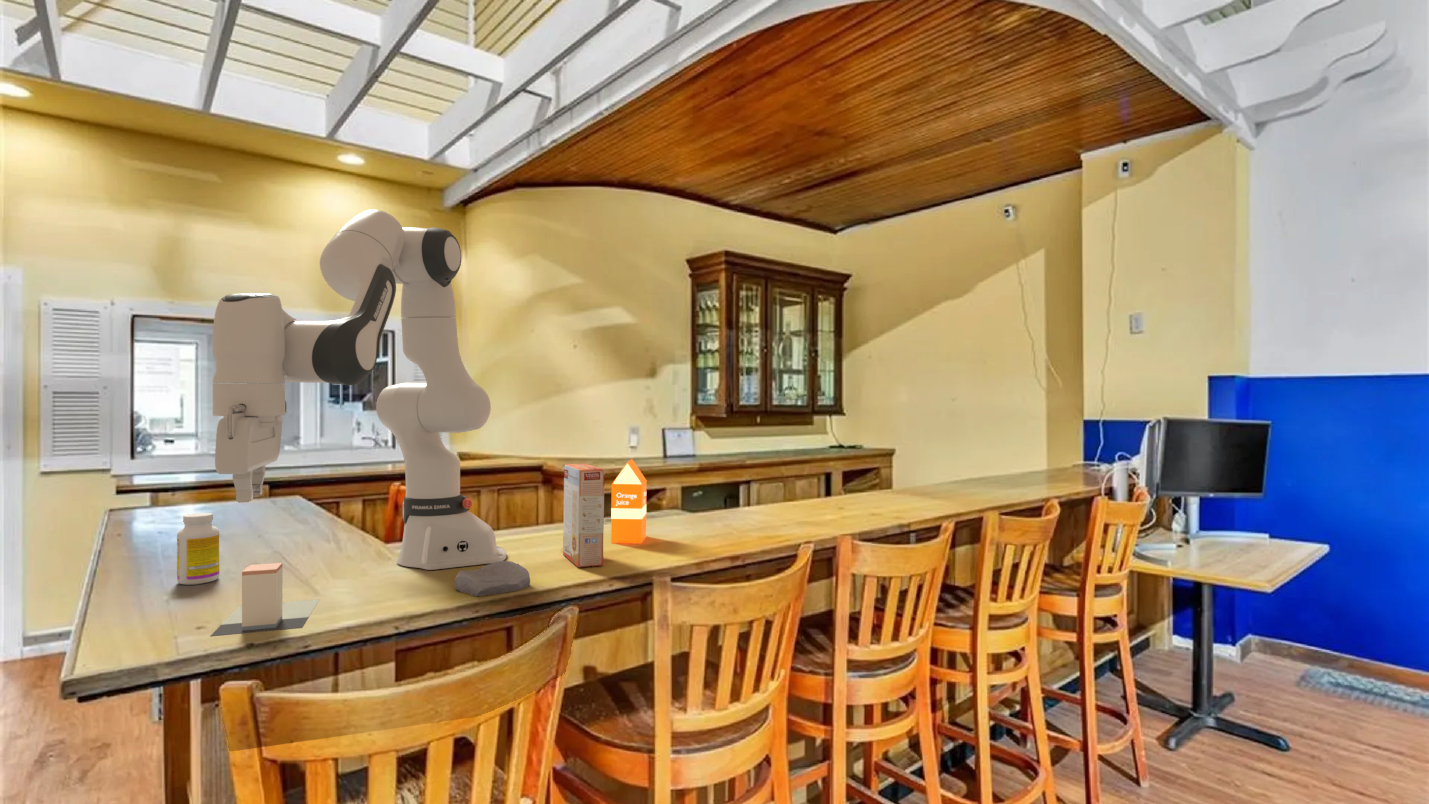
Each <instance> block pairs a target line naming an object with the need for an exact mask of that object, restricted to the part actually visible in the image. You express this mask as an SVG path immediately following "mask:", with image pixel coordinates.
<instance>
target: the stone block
mask: <svg viewBox="0 0 1429 804" xmlns="http://www.w3.org/2000/svg"><path fill="white" fill-rule="evenodd" d="M453 584H454V588H455V589H456V591H457V592H460V593H463V594H464V593H465V594H470V595H471V596H473V597H483V596H490V595H495V594H500V593H501V594H504V593H508V592H515V591H516V592H517V591H520V590H523V589H526V588H528V587H530V584H531V576H530V572H529V571H528V569H527V568H526V567H524V566H522V565H520V564H519V563H516V562H514V561H511V560H510V561H509V560H503V561H498V562H494V563H488V564H484V566H482V567H481V568H479V569H477V570H475V569H474V570H460V571H459V572H458V573H457V574H456V575H455V578H454V583H453Z"/></svg>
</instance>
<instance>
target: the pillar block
mask: <svg viewBox="0 0 1429 804" xmlns="http://www.w3.org/2000/svg"><path fill="white" fill-rule="evenodd" d="M282 602H283V562H276V563H275V562H274V563H261V564H260V563H257V564H248V566H247V567H246V568H244V569H243V570H242V571H241V606H242V631H245V630H256V629H266V628H276V627H277V626H278V624H279V623H280V621H281V620H282Z"/></svg>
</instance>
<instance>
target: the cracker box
mask: <svg viewBox="0 0 1429 804" xmlns="http://www.w3.org/2000/svg"><path fill="white" fill-rule="evenodd" d="M605 470H606V469H604V468H601V467H597V466H595V465H591V464H588V463H568V464H566V463H565V464H564V467H563V530H562V531H563V535H562V540H563V541H562V543H563V544H562V546H563V547H562V555H563V556H566V557H565V558H567V560H569V562H571V563H572V564H573V565H574V566H576V567H577V568H591V567H590V566H592V567H602V566H603V565H604V535H605V533H604V525H605V521H604V520H605Z"/></svg>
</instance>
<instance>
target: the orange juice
mask: <svg viewBox="0 0 1429 804" xmlns="http://www.w3.org/2000/svg"><path fill="white" fill-rule="evenodd" d="M647 482H648V480H647V479H646V478H645V476H644V474H643V472H642V471H641V470H640V468H639V467H638V465H637V464H636V462H635V461H634V460H633V458H631V459H629V460H628V461H627V462H626V464H625V465H624V466H623V468H622V469H621V471H620V472H619V474H618V475H617V476H616V478H615V479H614V480H613V482H612V483H611V502H610V503H611V505H610V506H611V508H610V511H611V515H610V518H611V521H610V524H611V526H610V528H611V529H610V530H611V531H610V533H611V534H610V535H611V538H610V539H611V540H610V543H611V544H642V543H643V541H644V540H645V538H646V537H647Z"/></svg>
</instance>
